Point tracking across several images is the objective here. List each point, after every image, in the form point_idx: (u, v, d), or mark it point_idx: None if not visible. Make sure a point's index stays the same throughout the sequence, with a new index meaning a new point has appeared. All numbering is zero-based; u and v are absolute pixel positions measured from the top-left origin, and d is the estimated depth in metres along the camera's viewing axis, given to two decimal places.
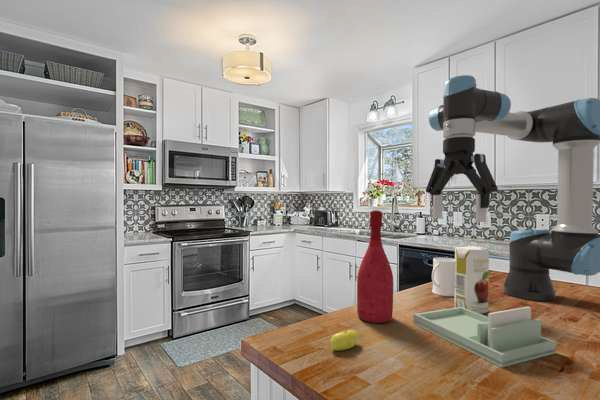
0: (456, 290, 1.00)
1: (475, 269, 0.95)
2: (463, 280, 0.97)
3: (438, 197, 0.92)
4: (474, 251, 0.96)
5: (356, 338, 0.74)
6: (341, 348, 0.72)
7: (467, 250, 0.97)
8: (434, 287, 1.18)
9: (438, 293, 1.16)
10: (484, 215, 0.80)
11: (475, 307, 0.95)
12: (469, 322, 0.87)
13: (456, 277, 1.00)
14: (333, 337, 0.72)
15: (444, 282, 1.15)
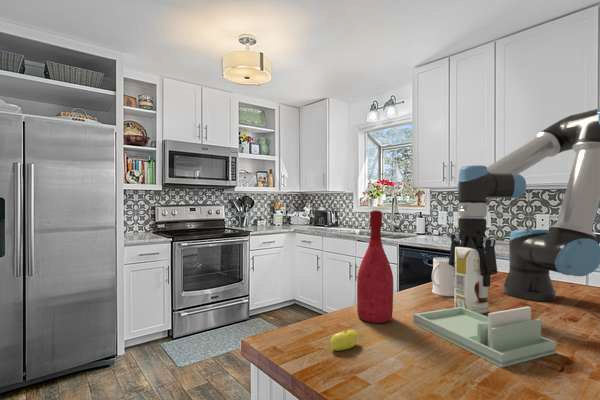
0: (456, 290, 1.00)
1: (475, 269, 0.95)
2: (463, 280, 0.97)
3: None
4: (474, 251, 0.96)
5: (356, 338, 0.74)
6: (341, 348, 0.72)
7: (467, 250, 0.97)
8: (434, 287, 1.18)
9: (438, 293, 1.16)
10: (486, 292, 0.96)
11: (475, 307, 0.95)
12: (469, 322, 0.87)
13: (456, 277, 1.00)
14: (333, 337, 0.72)
15: (444, 282, 1.15)
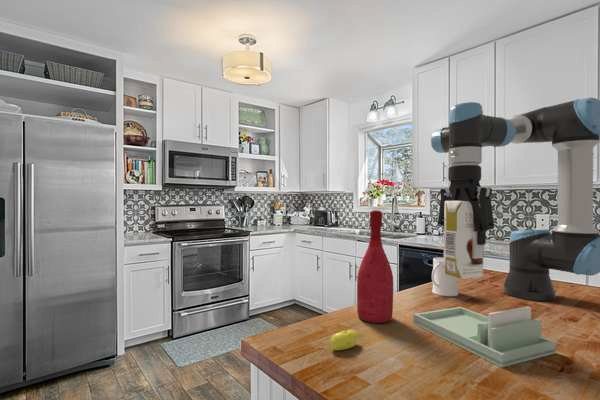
0: (446, 251, 0.84)
1: (468, 225, 0.80)
2: (453, 238, 0.82)
3: None
4: (466, 203, 0.81)
5: (356, 338, 0.74)
6: (341, 348, 0.72)
7: (458, 202, 0.82)
8: (434, 287, 1.18)
9: (438, 293, 1.16)
10: (481, 251, 0.81)
11: (468, 269, 0.80)
12: (469, 322, 0.87)
13: (446, 236, 0.84)
14: (333, 337, 0.72)
15: (444, 282, 1.15)
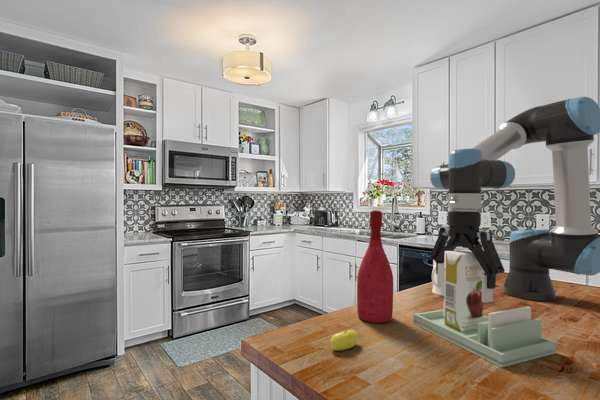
0: (445, 302, 0.84)
1: (467, 278, 0.80)
2: (453, 290, 0.82)
3: (443, 266, 0.90)
4: (466, 256, 0.80)
5: (356, 338, 0.74)
6: (341, 348, 0.72)
7: (458, 255, 0.82)
8: (434, 287, 1.18)
9: (438, 293, 1.16)
10: (490, 295, 0.78)
11: (467, 323, 0.80)
12: None
13: (445, 286, 0.84)
14: (333, 337, 0.72)
15: None
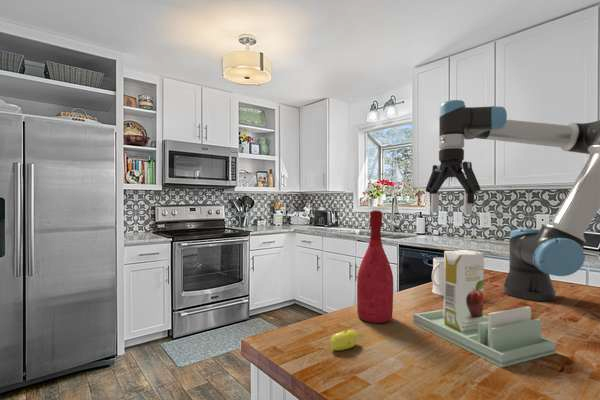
0: (445, 302, 0.84)
1: (467, 278, 0.80)
2: (453, 290, 0.82)
3: (435, 195, 1.16)
4: (466, 256, 0.81)
5: (356, 338, 0.74)
6: (341, 348, 0.72)
7: (458, 255, 0.82)
8: (434, 287, 1.18)
9: (438, 293, 1.16)
10: (470, 209, 1.03)
11: (467, 323, 0.80)
12: None
13: (445, 287, 0.84)
14: (333, 337, 0.72)
15: None
